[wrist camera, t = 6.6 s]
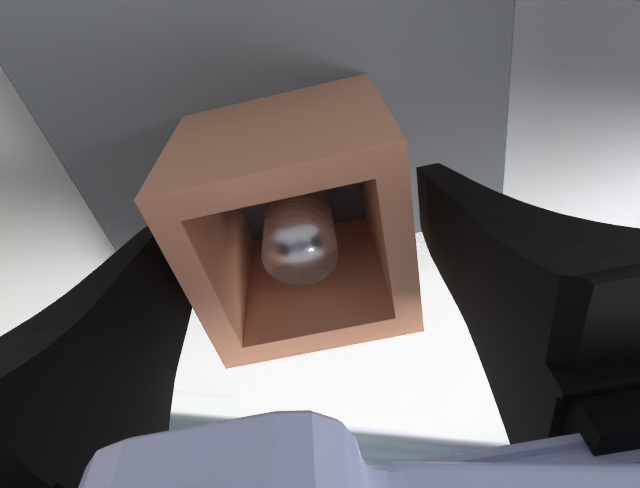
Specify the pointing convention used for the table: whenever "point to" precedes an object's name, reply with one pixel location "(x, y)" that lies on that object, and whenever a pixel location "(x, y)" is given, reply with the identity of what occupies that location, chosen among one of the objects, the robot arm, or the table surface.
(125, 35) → the pin plate
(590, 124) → the table surface
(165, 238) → the sleeve
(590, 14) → the table surface
